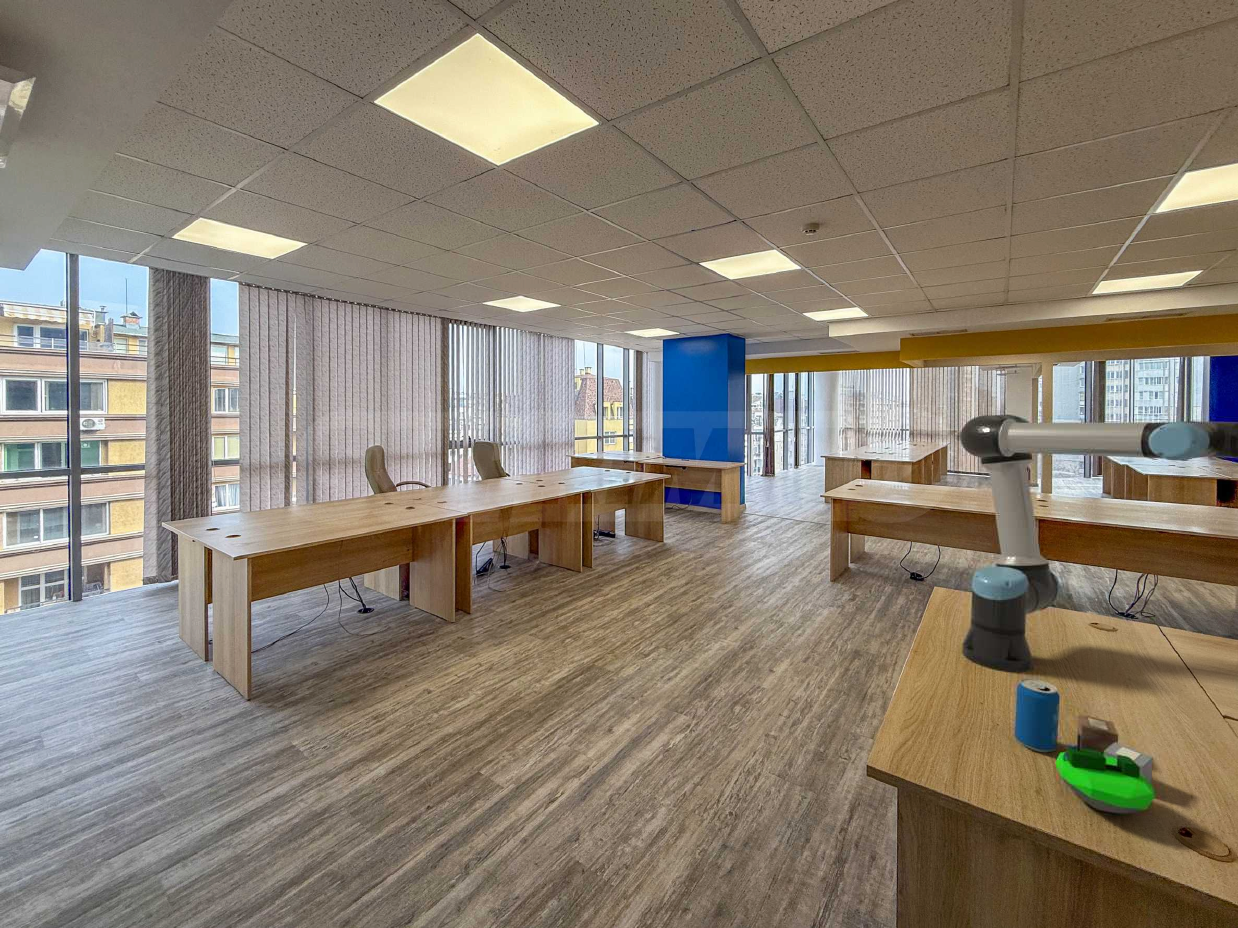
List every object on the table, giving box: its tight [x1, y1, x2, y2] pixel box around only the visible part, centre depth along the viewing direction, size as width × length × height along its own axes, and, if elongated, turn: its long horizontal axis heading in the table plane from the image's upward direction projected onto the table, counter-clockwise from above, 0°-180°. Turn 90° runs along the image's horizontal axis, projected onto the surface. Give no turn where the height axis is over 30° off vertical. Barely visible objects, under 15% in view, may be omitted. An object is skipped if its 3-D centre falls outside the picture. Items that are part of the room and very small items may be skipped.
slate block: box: [1104, 742, 1154, 785], centre depth 92 cm, size 5×5×5 cm
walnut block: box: [1076, 714, 1119, 756], centre depth 101 cm, size 5×5×5 cm
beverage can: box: [1014, 677, 1061, 753], centre depth 103 cm, size 6×6×12 cm
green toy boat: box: [1055, 734, 1156, 815], centre depth 87 cm, size 12×12×11 cm
